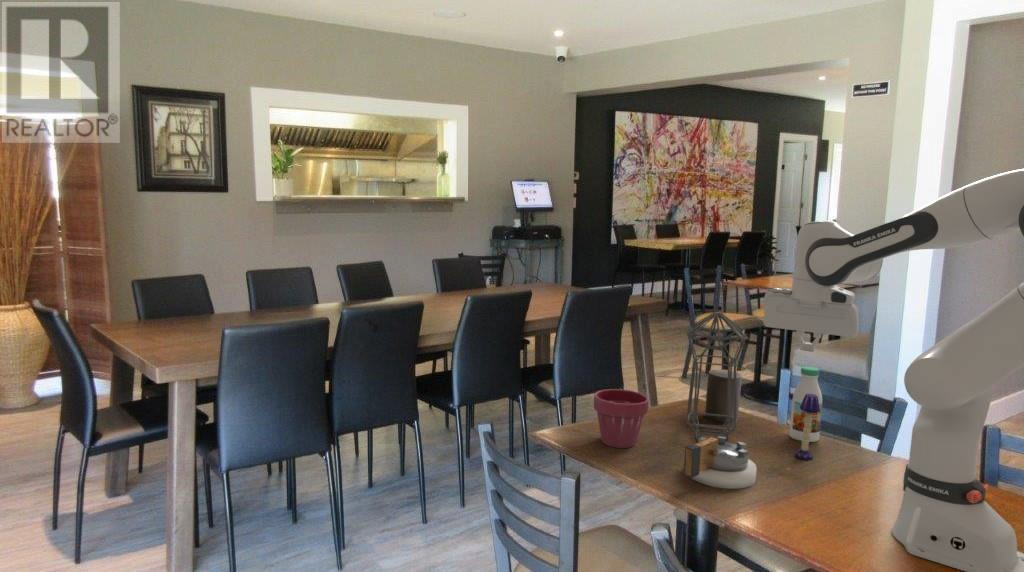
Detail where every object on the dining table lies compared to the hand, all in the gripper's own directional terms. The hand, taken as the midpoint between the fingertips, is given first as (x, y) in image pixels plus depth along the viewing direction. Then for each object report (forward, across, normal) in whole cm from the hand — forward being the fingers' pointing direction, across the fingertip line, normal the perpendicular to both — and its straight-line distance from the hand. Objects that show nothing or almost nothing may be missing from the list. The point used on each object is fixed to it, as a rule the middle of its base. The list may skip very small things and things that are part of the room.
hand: (807, 350), depth 161 cm
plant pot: (+31, -44, -2) cm, 54 cm away
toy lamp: (+31, 0, +16) cm, 35 cm away
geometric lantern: (+31, -25, +18) cm, 44 cm away
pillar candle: (+31, -27, +36) cm, 55 cm away
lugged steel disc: (+28, -17, -12) cm, 35 cm away
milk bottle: (+31, -3, +32) cm, 45 cm away
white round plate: (+31, -16, -8) cm, 36 cm away
